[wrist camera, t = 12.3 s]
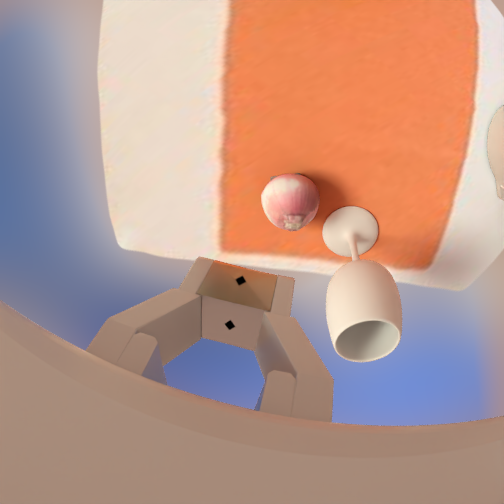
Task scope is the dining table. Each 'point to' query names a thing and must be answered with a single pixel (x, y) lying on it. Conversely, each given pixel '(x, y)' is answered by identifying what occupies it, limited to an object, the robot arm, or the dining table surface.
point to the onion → (290, 201)
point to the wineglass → (360, 291)
